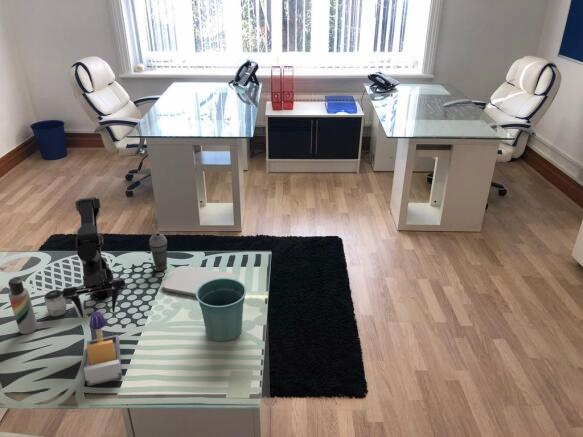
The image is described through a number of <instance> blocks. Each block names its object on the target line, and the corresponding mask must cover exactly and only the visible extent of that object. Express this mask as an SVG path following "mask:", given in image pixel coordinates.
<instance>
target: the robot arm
mask: <svg viewBox="0 0 583 437" xmlns="http://www.w3.org/2000/svg"><path fill="white" fill-rule="evenodd" d="M101 209H102V204H101V199H100V198H97V197H96V196H93V197H91V196H90V197H84V198H79V199H78V200H76V201H75V210H76V212H78V214H79V215H80V227H79V228H78V229H77V236H75V251H77V253H76V254H77V256H78V258H79V260H80V261H81V263H82V272H83V276H82V284H83V287H81V288H77V287H76V286H70V287H65V288H63V289H62V290H61V291H62V295H63V298H64V299H65V301H69V302H72V303H73V304H74V305H75V308H76V309H77V311H78V313H79V315H80V316H81V319H85V317H84V315H85V314H84V311H83V307H82V306H83V305H82V303H81V298H80V297H79V296H80V295H85V294H90V295H89V298H92V299H94V300H95V299H96V300H100V301H105V300H107V298H109V297H110V296H111V308H112V311H111V312H112V313H115V310H116V305H117V301H118V297H119V295H120V294H121V293H123V290H127V285H126V280H125V279H124V278H117V279H114V274H113V270H112V269H111V268H110V267H109V266H108V263H107V261H105V259H104V258H103V257H102V250H101V249H102V246H104V237H103V236H102V234H101V233H99V228H98V219H99V217H100V216H101Z"/></svg>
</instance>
